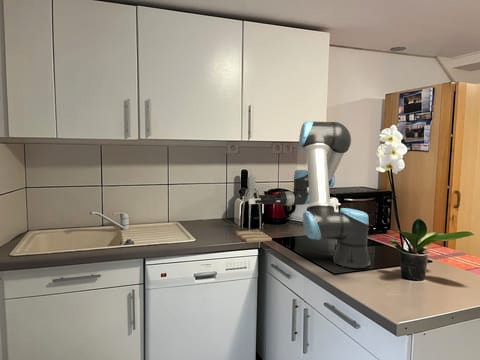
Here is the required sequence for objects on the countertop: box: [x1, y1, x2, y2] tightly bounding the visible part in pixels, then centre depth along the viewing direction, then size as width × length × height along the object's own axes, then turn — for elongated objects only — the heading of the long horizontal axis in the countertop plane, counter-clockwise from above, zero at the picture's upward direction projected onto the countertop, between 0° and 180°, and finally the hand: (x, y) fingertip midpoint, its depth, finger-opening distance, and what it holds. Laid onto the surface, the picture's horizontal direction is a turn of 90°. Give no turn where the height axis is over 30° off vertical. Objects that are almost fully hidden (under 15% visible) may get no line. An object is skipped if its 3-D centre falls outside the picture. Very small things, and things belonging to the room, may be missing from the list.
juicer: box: [241, 174, 262, 233], centre depth 187 cm, size 10×9×30 cm
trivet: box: [234, 229, 273, 244], centre depth 188 cm, size 18×14×2 cm
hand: (245, 200), depth 185 cm, fingers closed on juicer, 8 cm apart
